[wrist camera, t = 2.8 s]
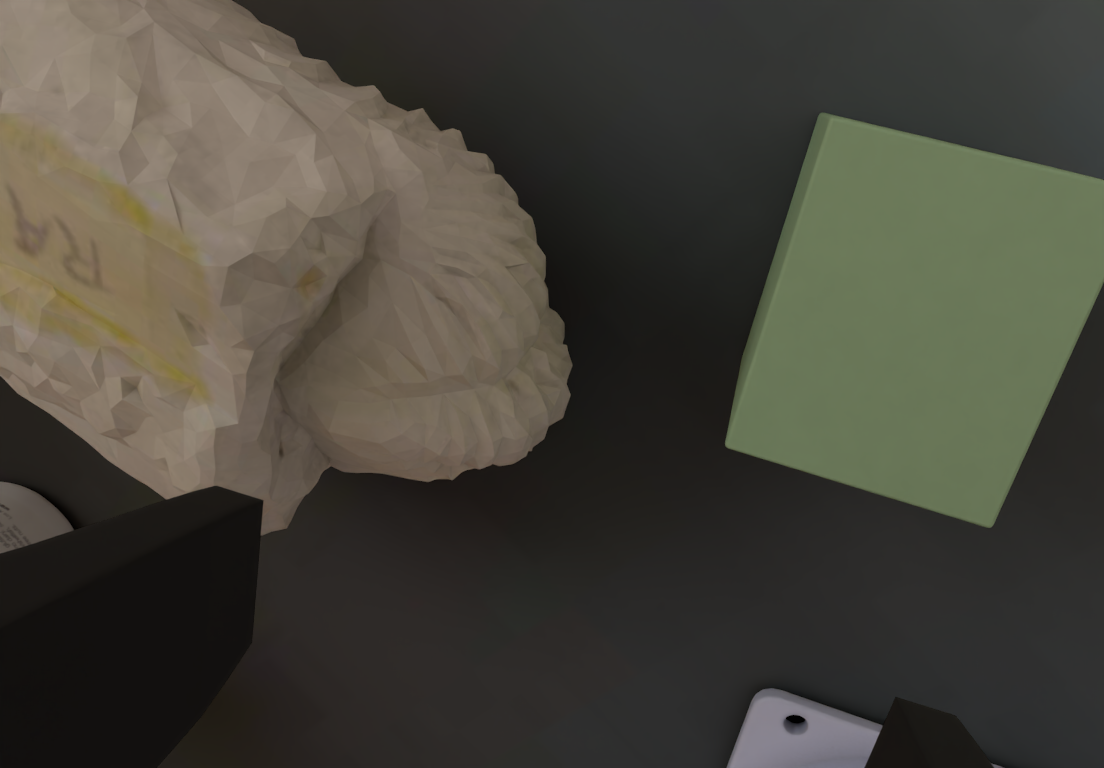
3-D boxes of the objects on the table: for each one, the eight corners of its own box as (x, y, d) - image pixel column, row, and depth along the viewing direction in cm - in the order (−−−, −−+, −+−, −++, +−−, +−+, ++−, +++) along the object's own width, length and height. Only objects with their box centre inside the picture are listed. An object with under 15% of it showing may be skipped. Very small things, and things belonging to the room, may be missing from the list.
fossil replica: (590, 495, 20) (603, 20, 18) (510, 705, 12) (516, -117, 10) (103, 459, 22) (60, 26, 20) (-247, 617, 14) (-386, -82, 12)
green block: (819, 111, 16) (830, 114, 12) (1043, 164, 16) (1148, 191, 11) (740, 360, 18) (723, 448, 14) (939, 417, 17) (992, 530, 13)
